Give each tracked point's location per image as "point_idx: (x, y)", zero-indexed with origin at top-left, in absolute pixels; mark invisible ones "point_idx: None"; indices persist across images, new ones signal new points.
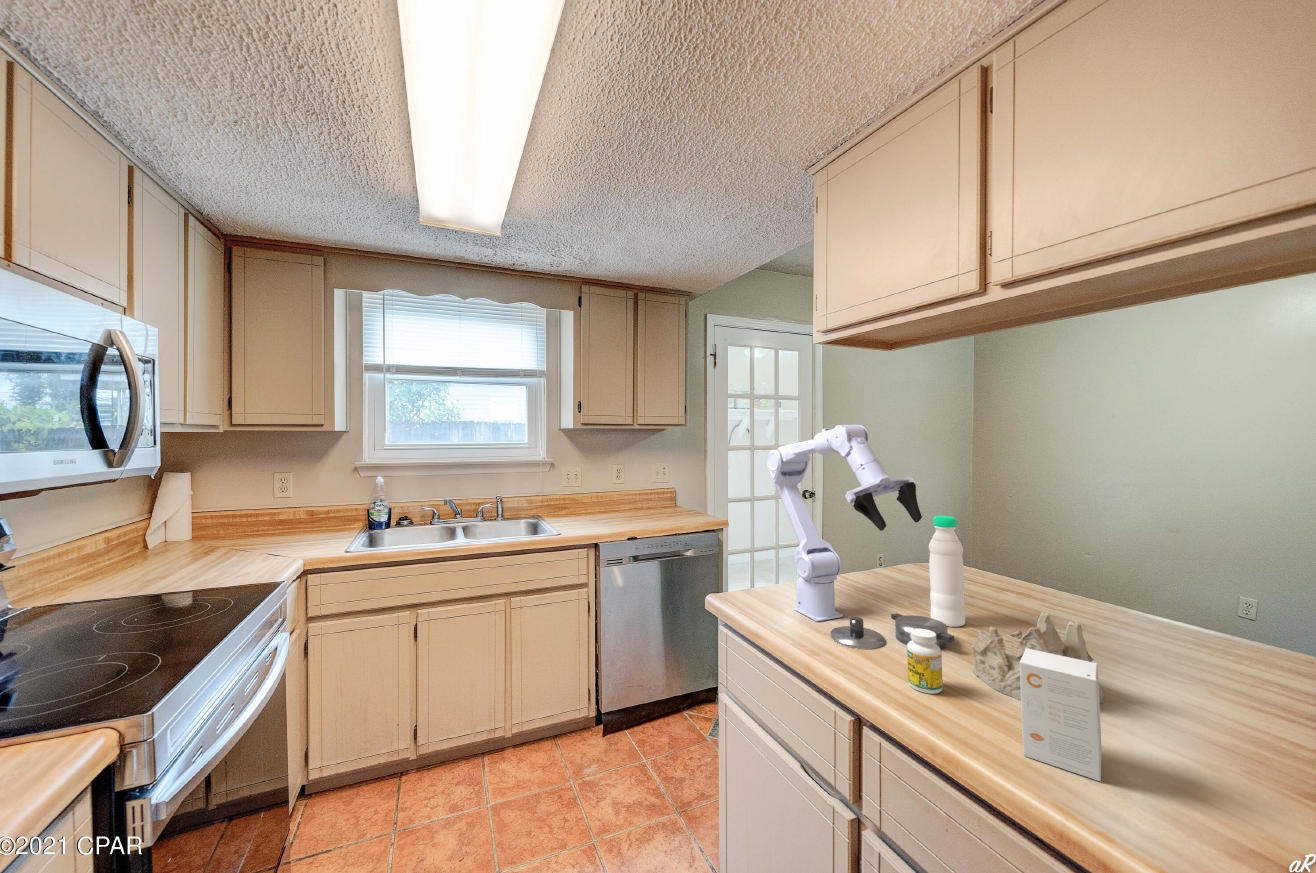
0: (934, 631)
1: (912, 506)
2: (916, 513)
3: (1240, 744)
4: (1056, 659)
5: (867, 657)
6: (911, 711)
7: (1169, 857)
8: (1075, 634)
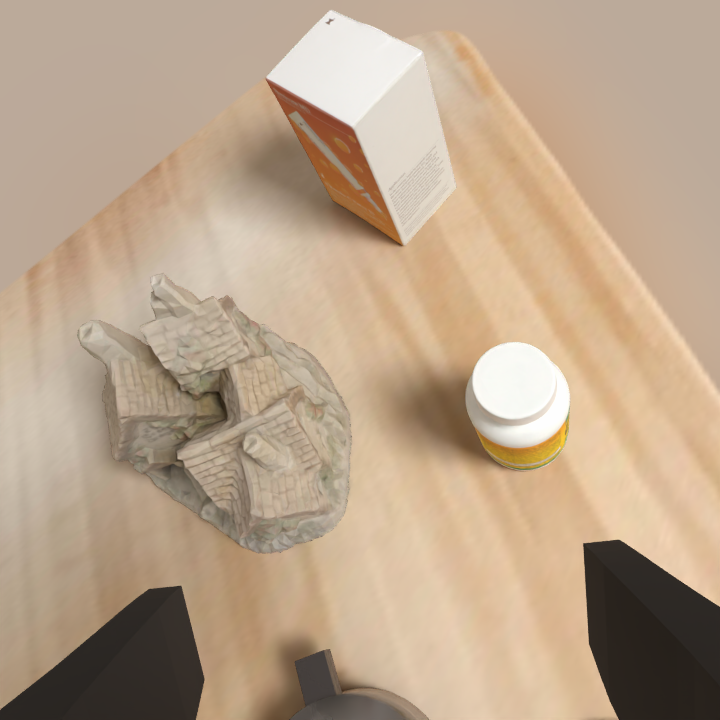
0: (340, 708)
1: (109, 712)
2: (161, 623)
3: (100, 264)
4: (333, 75)
5: None
6: (614, 310)
7: (413, 40)
8: (115, 330)
